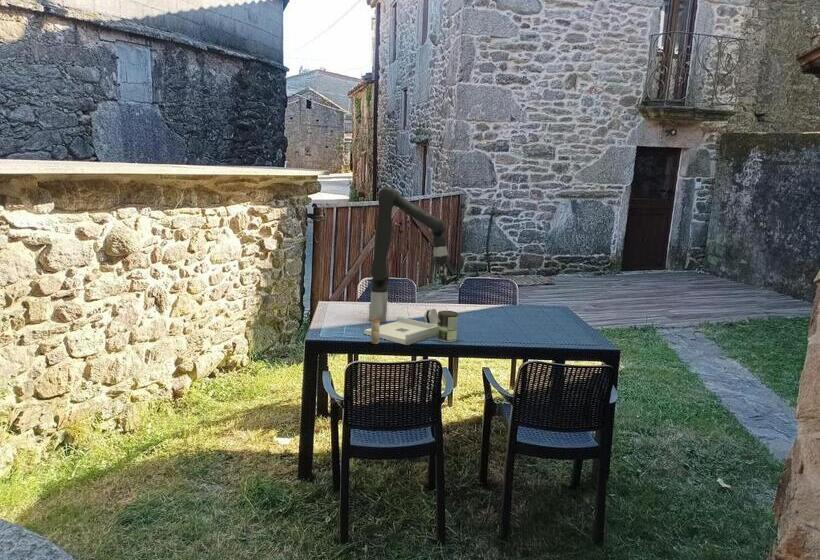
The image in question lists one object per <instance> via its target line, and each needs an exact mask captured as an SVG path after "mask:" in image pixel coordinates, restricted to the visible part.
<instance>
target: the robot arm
mask: <svg viewBox="0 0 820 560" xmlns="http://www.w3.org/2000/svg"><path fill="white" fill-rule="evenodd" d="M393 206H394V207H396V208H398V209H400V210H401V211H403V212H404V213H405V214H406V215H408V216H409V217H411V218H413V219H414V220H416V221H417V222H419V223H421V224H423V225H424V226H425V227H427V228H428V229H429V230H430V231H432V237H433V238H432V246H433V255H434V256H433V259H434V264H435V265H439V267H438V273H439V277H440V280H441V281H440V282H441V286H446V285H447V282H448V279H447V274H448V273H447V272H448V271H447V266H446V265H447V264H448V263H449V262H450V261H449V253H448V247H447V241H446V233H445V232H446V230H445V229H446V228H445V227H446V226H445V222H444V220H443V219H442V218H438V217H436V216H434V215H432V214H431V213H430V212H429V211H427V210H426V209H424V208H422V207H421V206H418V205H417V204H415V203H413V202H411V201H410V200H408V199H407V198H405V197H404V196H403V195H401V194H400V193H399V192H398V191H396V190H395V189H394V188H393V187H389V186H386V187H383V188H381V189H380V191H379V192H378V208H377V209H378V212H377V219H376V226H375V231H374V233H375V234H374V247H373V258H372V263H371V266H370V267H371V268H370V275H371V277H372V281H371V285H370V286H371V287H370V303H369V304H368V307H369V308H368V321H369V322H371V320H372V318H379V319H380V324H381V323H382V324H383V323H387V317H388V316H387V315H388V314H387V313H388V290H389V278H390V269H389V266H388V265H387V259H388V253H389V250H390V246H391V242H392V236H393V220H392V213H393Z"/></svg>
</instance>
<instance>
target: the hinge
mask: <svg viewBox="0 0 820 560" xmlns="http://www.w3.org/2000/svg"><path fill="white" fill-rule="evenodd" d="M423 318H424V321H425V323H430V324H435V325H438V311H437V309H436V308H431V309H428V310H426V311H425V313H424V317H423Z"/></svg>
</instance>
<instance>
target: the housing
mask: <svg viewBox="0 0 820 560" xmlns="http://www.w3.org/2000/svg"><path fill="white" fill-rule="evenodd" d="M437 327H438V325H435V324H430V323H426V322H424V321H420V320H415V319H410V318H405V317H403V316H402V317H401V316H397V317H396V321H393V322H389V323H385V324H381V325H380V327H379V339H380V338H382V339H381V340H384V339H386V340H385V341H389V340H390V341H389V342H393V341H394V342H393V343H398V344H401V345H405V346H409V345H412V344H415V343H418V342H421V341H420V340H422V341H424V340H423V339H425V340H427V339H426V338H428V339H430V337H431V338H433V336H434V337H437ZM363 334H366V335H365V336H368V335H370V336H369V337H371V327H370V328H367V329H364V332H363ZM417 341H418V342H417Z"/></svg>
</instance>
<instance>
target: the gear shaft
mask: <svg viewBox="0 0 820 560" xmlns="http://www.w3.org/2000/svg"><path fill="white" fill-rule="evenodd" d="M370 322H371V326H370V328H371V336H370V343H371V345H372V344H374V345H377V344H379V343H380V338H379V327H380V326H381V325H380V324H381V323H380V319H379V318H372V320H371V321H370Z"/></svg>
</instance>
